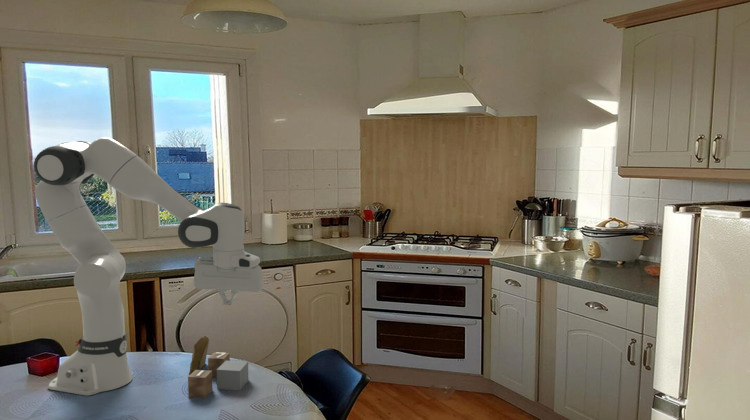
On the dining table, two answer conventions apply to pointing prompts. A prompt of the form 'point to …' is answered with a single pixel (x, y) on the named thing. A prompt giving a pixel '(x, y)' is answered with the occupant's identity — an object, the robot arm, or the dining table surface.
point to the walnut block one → (200, 383)
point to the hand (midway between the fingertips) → (228, 304)
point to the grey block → (232, 375)
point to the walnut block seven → (217, 361)
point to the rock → (199, 354)
